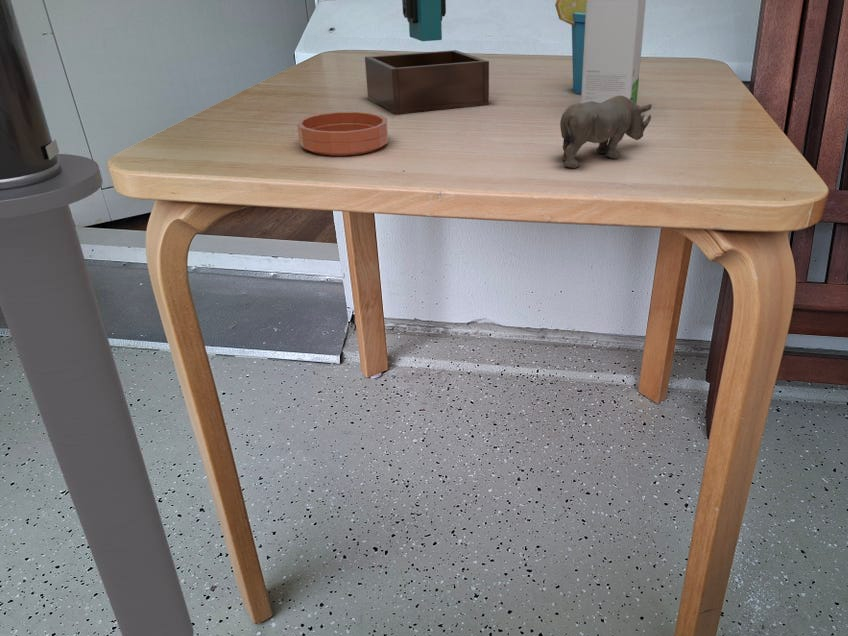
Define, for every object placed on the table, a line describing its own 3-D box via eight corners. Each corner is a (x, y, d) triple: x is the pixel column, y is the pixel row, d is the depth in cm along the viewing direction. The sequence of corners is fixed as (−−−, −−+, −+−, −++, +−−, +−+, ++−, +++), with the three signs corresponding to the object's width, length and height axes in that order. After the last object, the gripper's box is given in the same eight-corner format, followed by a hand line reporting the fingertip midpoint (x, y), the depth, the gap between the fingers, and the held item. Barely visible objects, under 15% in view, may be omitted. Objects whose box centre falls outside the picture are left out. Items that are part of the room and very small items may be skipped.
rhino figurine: (663, 148, 82) (671, 91, 78) (574, 171, 74) (578, 109, 71) (635, 140, 84) (641, 85, 81) (546, 162, 77) (549, 102, 74)
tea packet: (409, 36, 99) (406, -22, 96) (428, 35, 100) (426, -23, 97) (422, 41, 96) (420, -20, 92) (442, 40, 97) (440, -21, 93)
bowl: (313, 161, 77) (311, 136, 76) (291, 140, 84) (288, 116, 83) (400, 150, 81) (399, 126, 79) (371, 131, 88) (370, 108, 87)
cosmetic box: (628, 123, 91) (642, -19, 83) (575, 119, 93) (584, -20, 85) (637, 108, 98) (651, -24, 90) (587, 105, 100) (597, -25, 92)
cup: (617, 82, 114) (627, -28, 106) (650, 90, 108) (663, -25, 101) (541, 90, 108) (546, -25, 101) (572, 100, 103) (579, -21, 95)
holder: (394, 114, 95) (391, 69, 93) (367, 98, 104) (364, 56, 101) (488, 104, 100) (489, 61, 98) (456, 90, 109) (455, 50, 106)
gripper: (459, -135, 94) (461, 16, 102) (352, -137, 88) (364, 21, 97) (486, -138, 88) (485, 22, 97) (373, -141, 82) (383, 28, 91)
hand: (424, 21), depth 97 cm, fingers closed on tea packet, 2 cm apart
